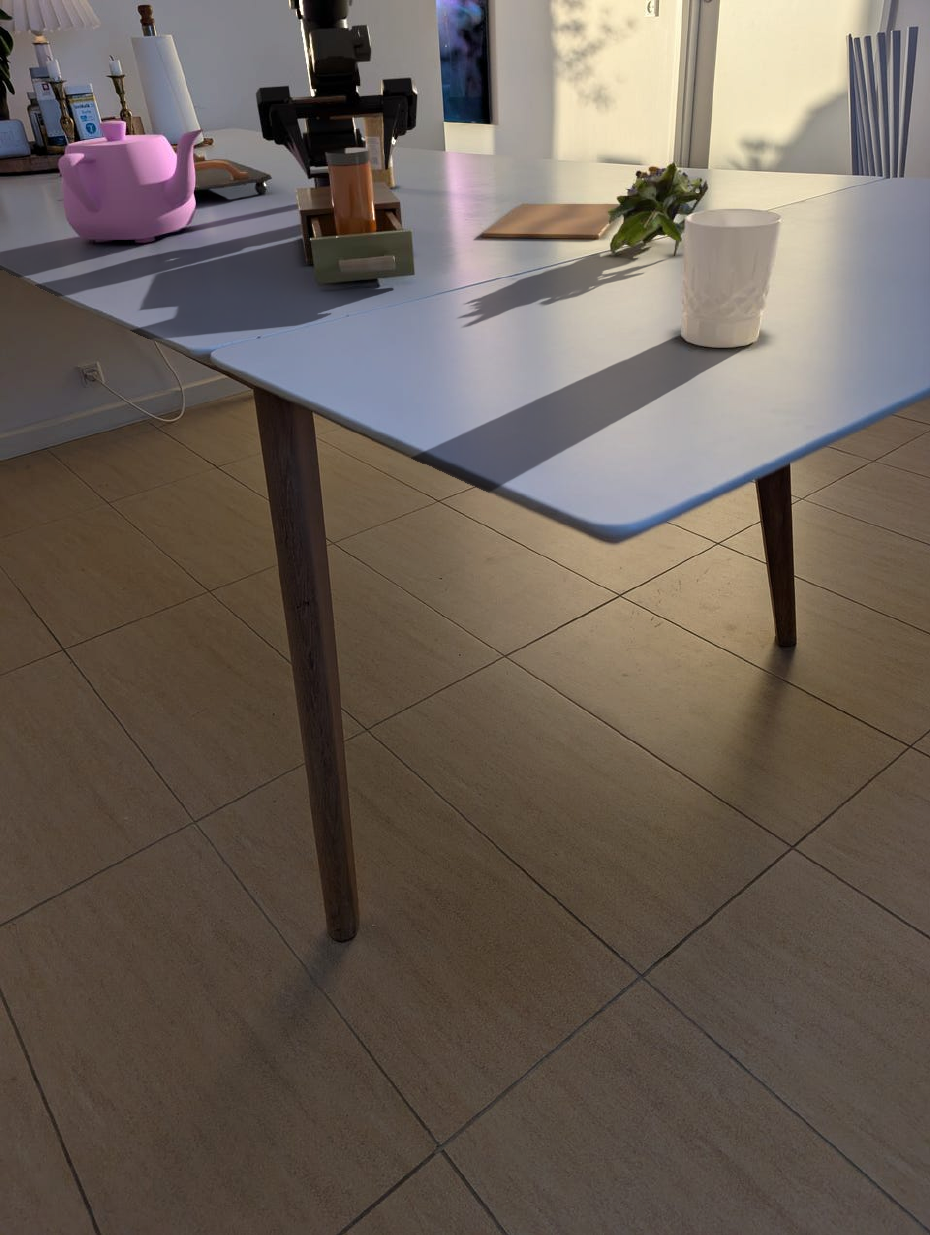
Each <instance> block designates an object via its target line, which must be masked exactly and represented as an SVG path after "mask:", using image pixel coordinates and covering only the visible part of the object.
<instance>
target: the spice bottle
mask: <svg viewBox="0 0 930 1235" xmlns="http://www.w3.org/2000/svg"><path fill="white" fill-rule="evenodd" d="M326 161H327V164H328V166H327V169H328V170H329V178H330V186H331V195H332V203H333V211H334V219H335V228H336V236H340V235H351V234H362V233H374V232H377V227H376V217H375V207H374V197H373V186H372V176H371V166H370V161H371V156H370V149H368V148H342V149H334V150H329V151H327V152H326Z"/></svg>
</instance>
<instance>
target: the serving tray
mask: <svg viewBox="0 0 930 1235" xmlns="http://www.w3.org/2000/svg"><path fill="white" fill-rule="evenodd" d="M171 147H172V149H173V150H174V152H175V154H177V147H178V145H171ZM193 161H194V169H195V188H194V192H197V191H205V190H206V191H207V190H213V189H215V190H216V189H222V188H229V187H239V186H246V185H248V184H254V190H255V192H256V193H257V195H259V196H261V195H266V194H267V191H268V186H267V184H266V183H265V182H268V181H269V180H272V179H273V177H272V175H270V173H266V172H264V171H261V170H259V169H255V168H252V167H250V166H247V165H245V164H241V163H238V162H236V161H233V160H230V159H228V158H212V159H206V157H205V155H198V154H196V153H195V152H194V151H193Z"/></svg>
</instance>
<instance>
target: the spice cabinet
mask: <svg viewBox="0 0 930 1235" xmlns="http://www.w3.org/2000/svg"><path fill="white" fill-rule="evenodd" d="M372 186H373V197H374V207H375V210H381V209H390V210H391V212H392V213H393V215H394V216H395V217H396V219H397V220H398V222H399V223H400V225H401V226H402V227H403V219H402V208H401V206H402V205H401V201H400V200H399V198H398V196H396V194H395V193H394V192H393V190H391V189H392V188H389V187H388V186H387V184H386V183H385V182H376V183H372ZM295 195H296V201H297V209H298V215H299V223H300V229H301V237H302V243H303V249H304V254H305V259H306V264H307V266H312V265H313V266H314V263H313V255H312V248H311V241H310V238H313V233H312V226H311V219H310V215H322V214H334V211H333V203H332V195H331V186H326V187H315V186H314V187H304V188H303V187H302V188H295Z"/></svg>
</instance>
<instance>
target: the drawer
mask: <svg viewBox="0 0 930 1235" xmlns="http://www.w3.org/2000/svg"><path fill="white" fill-rule="evenodd" d="M375 217H376V227H377V232H374V233H362V234H351V235H340V236H336V228H335V219H334V214H322V215H310V219H311V226H312V233H313V238H310V241H311V248H312V255H313V263H314V265H313V269H314V277H315V283H316V285H325V284H336V283H345V282H346V283H348V282H357V281H358V282H359V281H366V280H377V279H387V278H399V277H409V276H415V275H416V273H415V272H416V271H415V258H414V246H413V244H414V243H413V231H412V230H411V229H409V228H408V229H404V227H403V225H402V226H401V225H400V223H399V222H398V220H397V219H396V217H395V216H394V215H393V213H392V212H391V210H390V209H381V210H375Z"/></svg>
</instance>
